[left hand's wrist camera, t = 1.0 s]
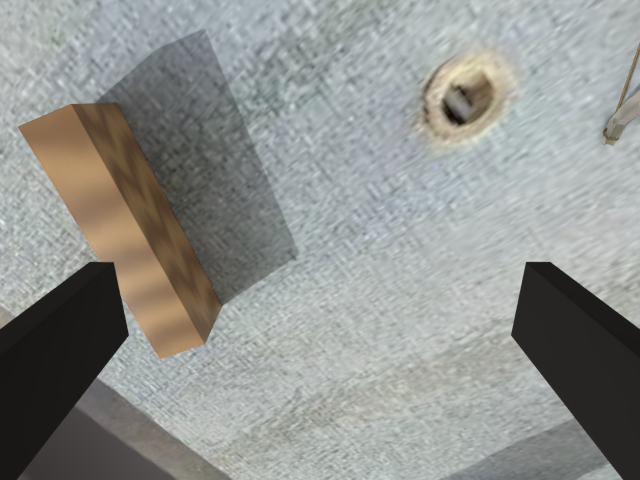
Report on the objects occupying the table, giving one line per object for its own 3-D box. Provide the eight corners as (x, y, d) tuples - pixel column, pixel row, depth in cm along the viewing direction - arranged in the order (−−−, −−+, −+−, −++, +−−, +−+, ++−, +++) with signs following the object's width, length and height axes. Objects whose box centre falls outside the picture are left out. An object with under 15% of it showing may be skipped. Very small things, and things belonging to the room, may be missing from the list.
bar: (72, 121, 41) (17, 126, 33) (117, 102, 40) (71, 103, 33) (183, 319, 49) (159, 359, 41) (222, 306, 48) (205, 344, 41)
